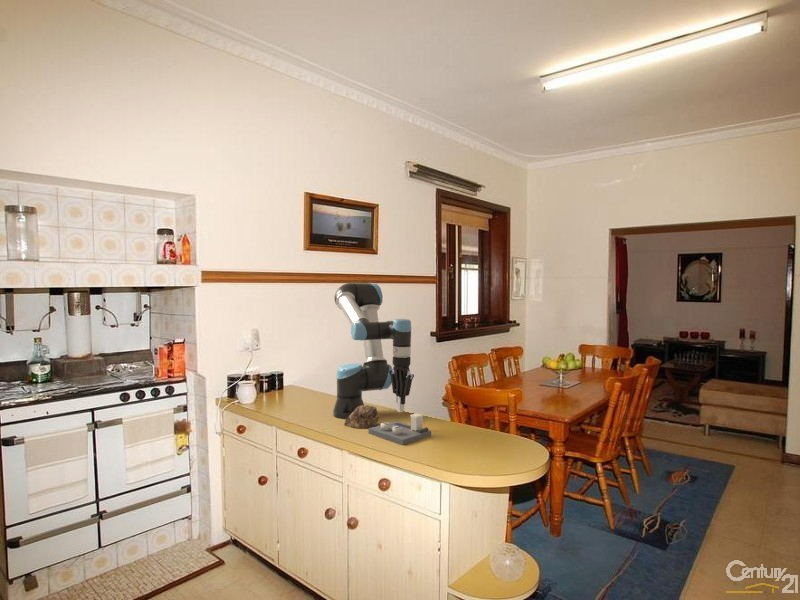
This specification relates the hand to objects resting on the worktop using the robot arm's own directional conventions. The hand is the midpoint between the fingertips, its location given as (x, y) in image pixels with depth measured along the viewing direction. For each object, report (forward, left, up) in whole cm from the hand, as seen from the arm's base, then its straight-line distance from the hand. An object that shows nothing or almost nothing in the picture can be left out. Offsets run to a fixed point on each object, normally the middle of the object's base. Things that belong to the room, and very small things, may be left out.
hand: (400, 411), depth 201 cm
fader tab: (+10, -1, -5) cm, 12 cm away
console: (+6, -6, -7) cm, 11 cm away
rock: (-16, -9, -8) cm, 20 cm away
